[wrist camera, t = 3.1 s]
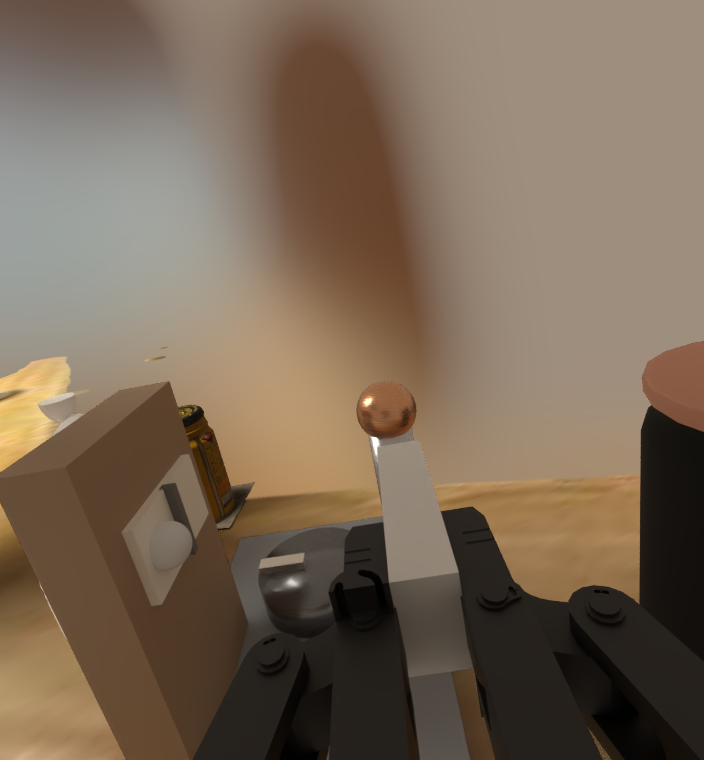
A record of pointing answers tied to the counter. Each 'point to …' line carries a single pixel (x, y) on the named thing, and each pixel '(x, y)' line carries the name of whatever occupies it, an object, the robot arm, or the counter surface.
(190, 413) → the condiment
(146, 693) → the stand
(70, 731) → the counter surface
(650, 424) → the coffee jar
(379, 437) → the ball top joystick
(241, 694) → the robot arm
